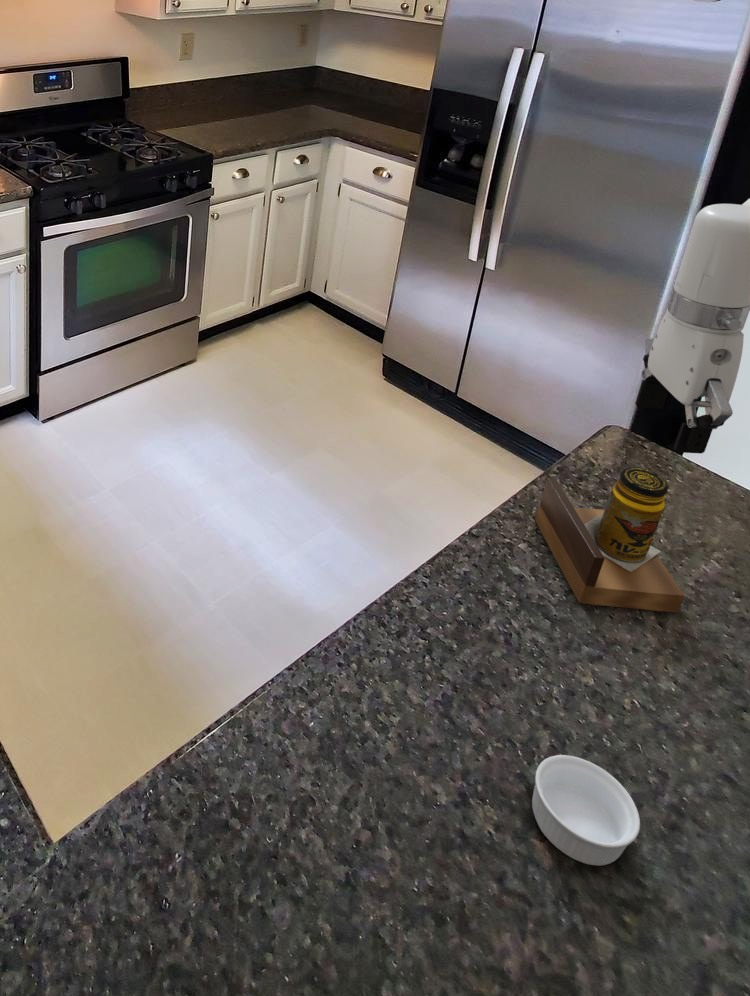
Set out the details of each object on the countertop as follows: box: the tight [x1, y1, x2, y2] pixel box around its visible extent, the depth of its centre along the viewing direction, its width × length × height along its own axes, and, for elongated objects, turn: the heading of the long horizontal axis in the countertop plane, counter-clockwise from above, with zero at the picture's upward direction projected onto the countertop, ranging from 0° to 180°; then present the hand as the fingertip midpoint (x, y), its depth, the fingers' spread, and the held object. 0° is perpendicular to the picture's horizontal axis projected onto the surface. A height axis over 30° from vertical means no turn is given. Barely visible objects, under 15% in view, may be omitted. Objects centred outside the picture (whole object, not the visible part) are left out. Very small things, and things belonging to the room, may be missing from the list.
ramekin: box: [531, 754, 641, 866], centre depth 78 cm, size 9×9×4 cm
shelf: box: [534, 477, 686, 614], centre depth 109 cm, size 12×16×8 cm
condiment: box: [584, 466, 669, 572], centre depth 108 cm, size 7×8×12 cm
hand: (667, 428), depth 101 cm, fingers open, 9 cm apart
